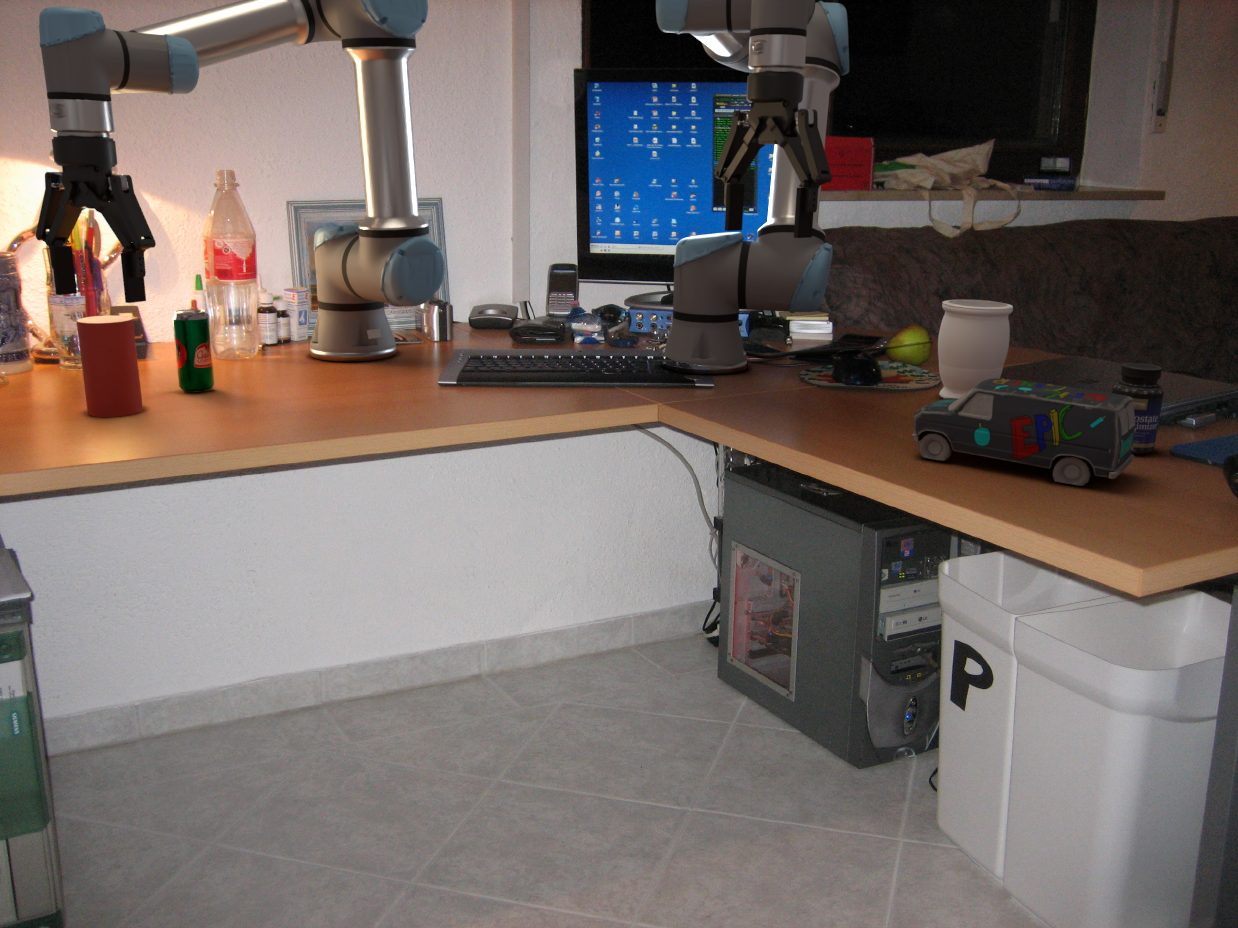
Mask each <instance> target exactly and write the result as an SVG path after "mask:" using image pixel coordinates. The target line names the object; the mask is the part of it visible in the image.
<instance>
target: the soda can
mask: <svg viewBox="0 0 1238 928" xmlns="http://www.w3.org/2000/svg"><path fill="white" fill-rule="evenodd" d="M172 328H173V337H174V348H175V356H176V357H175V358H176V367H177V368H176V369H177V376H178V377H177V379H178V387H179V388H180V389H181V391H183V392H187V393H202V392H208V391H211V390H212V389H213V388H214V386H215V376H214V375H215V374H214V365H213V353H212V341H211V331H210V318H209V316H208V315H207V313H206V310H204V309H199V308H198V309H196V308H189V309H179V310H175V311H174V316H173V317H172Z"/></svg>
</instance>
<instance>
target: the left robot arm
mask: <svg viewBox="0 0 1238 928" xmlns="http://www.w3.org/2000/svg"><path fill="white" fill-rule="evenodd" d="M428 14H429V0H238V1H235V2H231V3H226V4H223V5H219V6H215V7H212V8H208V9H204V10H200V11H196V12H193V13H189V14H185V15H182V16H177V17H174V18H169V19H167V20H163V21H159V22H155V23H152V24H148V25H145V26H140V27H137V28H133V29H129V30H128V31H124V30H123V31H122V30H116V29H111V28H107V27H106V23H105V21H104V17H103V15H102V13H100V11H98V10H96V9H90V8H89V9H88V8H83V7H75V6H74V7H73V6H49V7H45V8H43V9H42V10H41V11H40V12H39V14H38V17H39V18H38V20H39V22H38V23H39V24H38V32H39V48H40V51H41V58H42V66H43V73H44V80H45V88H46V89H45V90H46V99H47V105H48V115H49V124H50V130H51V131H52V132H55V133H56V136H53V137H52V139H51V146H52V154H53V160H54V164H55V165H57V166H58V167H61V169H62V171H46V172H45V173H44V188H45V189H44V192H43V196H42V197H43V198H42V201H41V207H40V212H39V217H38V222H37V226H36V232H35V239H36V240H37V241H43V242H44V243H45V246H47V247H48V250H49V258H50V267H51V269H52V272H53V280H54V281H53V282H54V290H55V295H56V296H64V295H65V296H66V295H72V294H73V295H75V294H78V291H77V289H78V288H77V281H76V272H75V264H74V255H73V246H72V243H71V242H70V240H69V239H70V237H71V235H72V233H73V231H74V230H75V229H74V228H75V226H76V224H77V222H78V220H79V218H80V216H81V214H82V212H83V211H84V210H86V209H90V210H95V211H96V212H98V213H99V214H101V216H102V217H103V219H104V220H105V222H106V223H107V225H108V226H109V228H110V230H111V231H112V233H113V234H114V236H115V237H116V238H117V240H118V242H119V243H120V245H121V246H122V247H123V248H122V249H121V251H120V262H121V271H122V272H121V273H122V282H123V292H124V302H125V304H126V303H127V304H132V303H133V304H134V303H141V302H147V294H146V285H145V277H146V273H147V271H146V261H145V252H146V251H147V250H148V249H149V250H150V249H152V248H155V247H156V244H157V243H156V240H155V238H154V235H153V233H152V230H151V228H150V226H149V224H148V221H147V219H146V217H145V214H144V211H143V210H142V209H143V208H142V207H141V205H140V203H139V201H138V198H137V195H136V193H135V189H134V184H133V178H132V176H131V175H130V174H113V167H117V165H118V156H117V146H116V145H117V144H116V140H114V138H111V134H114V133H115V132H116V130H115V122H114V121H115V120H114V114H113V113H114V112H113V104H112V103H113V102H112V95H120V94H167V95H169V96H170V95H171V96H172V95H187V94H190V93H192V92H193V91H194V90H195V89H196V87H197V85H198V81H199V79H200V78H199V76H200V69H204V68H207V67H211V66H213V65H217V64H221V63H223V62H227V61H231V60H234V59H237V58H241V57H244V56H247V55H251V54H254V53H257V52H261V51H264V50H268V49H271V48H274V47H278V46H281V45H284V44H288V45H290V46H292V47H301V46H304V45H307V44H312V43H313V44H314V43H319V42H339V41H340V42H341V51H342V53H344V54H345V56H347V57H348V59H350V60H351V62H352V65H353V74H354V76H353V77H354V86H355V97H356V110H357V119H358V120H357V122H358V132H359V143H360V156H361V165H362V167H361V169H362V177H363V188H364V189H363V190H364V201H365V213H366V215H365V217H363V219H362V221H361V222H360V223H356V224H347V225H346V224H345V225H344V224H343V225H333V226H323V227H320V228H318V229H316V231H315V233H314V238H313V254H314V266H315V268H314V269H315V280H316V284H315V285H316V297H317V310H318V311H317V316H316V321H315V323H314V327H313V331H312V335H311V338H310V342H309V355H310V356H311V357H312V358H314V359H317V360H323V361H331V362H366V361H376V360H382V359H387V358H390V357H394V356H395V355H396V354H397V344H396V339H395V337H394V333H393V331H392V329H391V325H390V323H389V320H388V317H387V314H386V311H385V304H389V305H391V306H395V307H396V306H397V307H417V306H421V305H423V304H426V303H427V302H429V301H430V300H431V299H433V298H434V296H435V295H436V293H437V291H439V290H440V288H441V287H442V284H443V281H444V280H445V279H444V278H445V274H446V259H445V256H444V253H443V251H442V249H441V248H440V247H439V246H438V243H436V242H435V241H433V240H432V239H431V237H430V225H429V222H428V221H427V220H426V219H425V218H424V217H423V216H422V215H421V214H420V213H419V212H420V211H419V200H418V199H419V198H418V185H417V172H416V158H415V145H414V144H415V143H414V132H413V131H414V130H413V118H412V102H411V90H410V78H409V77H410V75H409V60H410V59H411V58H412V56H414V54H415V53H416V52H417V42H416V41H417V39H416V35H417V34H418V33H419V32H420V31H421V30H423V26H424V24H425V23H426V21H427V19H428Z"/></svg>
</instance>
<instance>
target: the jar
mask: <svg viewBox="0 0 1238 928" xmlns="http://www.w3.org/2000/svg"><path fill="white" fill-rule="evenodd" d="M941 303H942V304H941V308H942V310H944V314H943V316H942V320H941V323H940V327H939V332H938V337H937V358H938V372H939V377H940V381H941V383H942V385H943V387H942V388H941V389H940V391H939V397H940V398H941V399H944V398H960V397H962V396H963V395H965V394H966V393H967V392H968V391H970V390H971V389H972V388H974V387H975V386H976V385H977V384H979V383H980V382H982V381H984V380H988V379H994V378H1002V377H1001V376H1002V373H1003V370H1004V365H1005V363H1006V359H1007V356H1008V352H1009V348H1010V347H1009V346H1010V338H1011V337H1010V335H1011V331H1010V330H1011V327H1010V320H1009V316H1010V315H1011V314H1012V313H1013V312H1014V306H1013V304H1009V303H1005V302H1001V301H995V300H994V301H993V300H986V299H985V300H984V299H967V298H965V299H964V298H963V299H948V300H942V302H941Z"/></svg>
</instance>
